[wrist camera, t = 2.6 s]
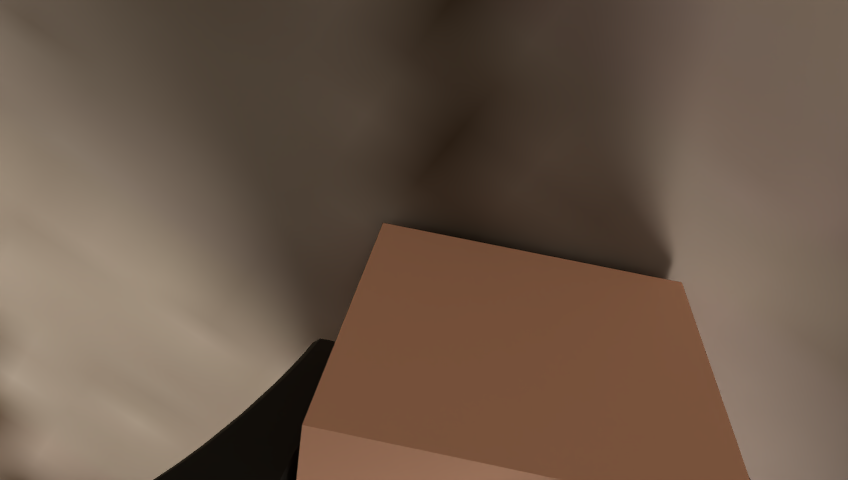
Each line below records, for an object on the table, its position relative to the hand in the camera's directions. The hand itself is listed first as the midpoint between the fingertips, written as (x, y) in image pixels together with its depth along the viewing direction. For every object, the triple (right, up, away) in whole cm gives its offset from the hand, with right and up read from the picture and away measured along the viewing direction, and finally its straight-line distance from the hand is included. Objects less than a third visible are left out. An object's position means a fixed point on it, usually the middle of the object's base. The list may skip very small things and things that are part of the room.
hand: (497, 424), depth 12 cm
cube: (0, +1, +1) cm, 1 cm away
